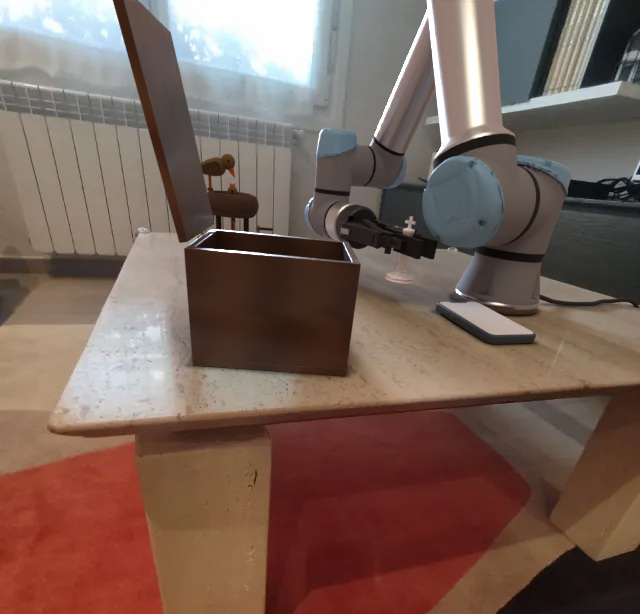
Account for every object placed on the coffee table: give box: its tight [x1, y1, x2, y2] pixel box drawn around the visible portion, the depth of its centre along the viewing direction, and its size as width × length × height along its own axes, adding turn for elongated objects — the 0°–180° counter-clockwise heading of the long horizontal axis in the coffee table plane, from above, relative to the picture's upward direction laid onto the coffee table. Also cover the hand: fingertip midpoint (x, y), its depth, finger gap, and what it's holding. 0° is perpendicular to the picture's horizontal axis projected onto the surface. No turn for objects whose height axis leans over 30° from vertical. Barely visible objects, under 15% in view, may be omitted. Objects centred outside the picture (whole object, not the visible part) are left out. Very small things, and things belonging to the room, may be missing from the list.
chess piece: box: [384, 215, 417, 285], centre depth 70 cm, size 5×5×10 cm
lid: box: [112, 0, 215, 244], centre depth 40 cm, size 17×14×1 cm
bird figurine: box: [196, 153, 274, 240], centre depth 77 cm, size 15×11×20 cm
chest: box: [183, 228, 362, 377], centre depth 48 cm, size 17×14×12 cm
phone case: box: [435, 301, 537, 345], centre depth 67 cm, size 9×2×16 cm
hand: (427, 250), depth 66 cm, fingers closed on chess piece, 2 cm apart
